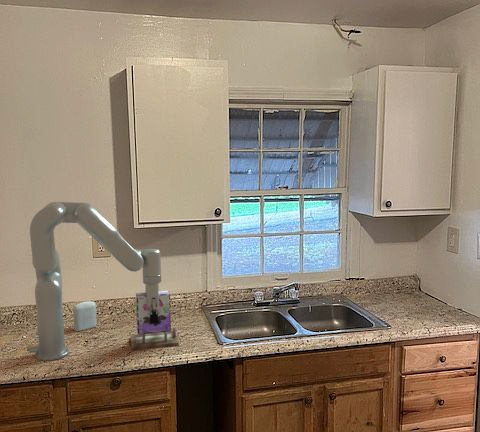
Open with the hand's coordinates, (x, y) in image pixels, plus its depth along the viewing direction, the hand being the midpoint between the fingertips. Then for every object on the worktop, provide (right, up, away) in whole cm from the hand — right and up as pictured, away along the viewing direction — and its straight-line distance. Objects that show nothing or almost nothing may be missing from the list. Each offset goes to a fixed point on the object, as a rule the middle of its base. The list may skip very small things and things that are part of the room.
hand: (153, 320), depth 205 cm
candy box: (0, -5, +1) cm, 5 cm away
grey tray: (0, -9, +1) cm, 9 cm away
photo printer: (-34, -8, +18) cm, 39 cm away
